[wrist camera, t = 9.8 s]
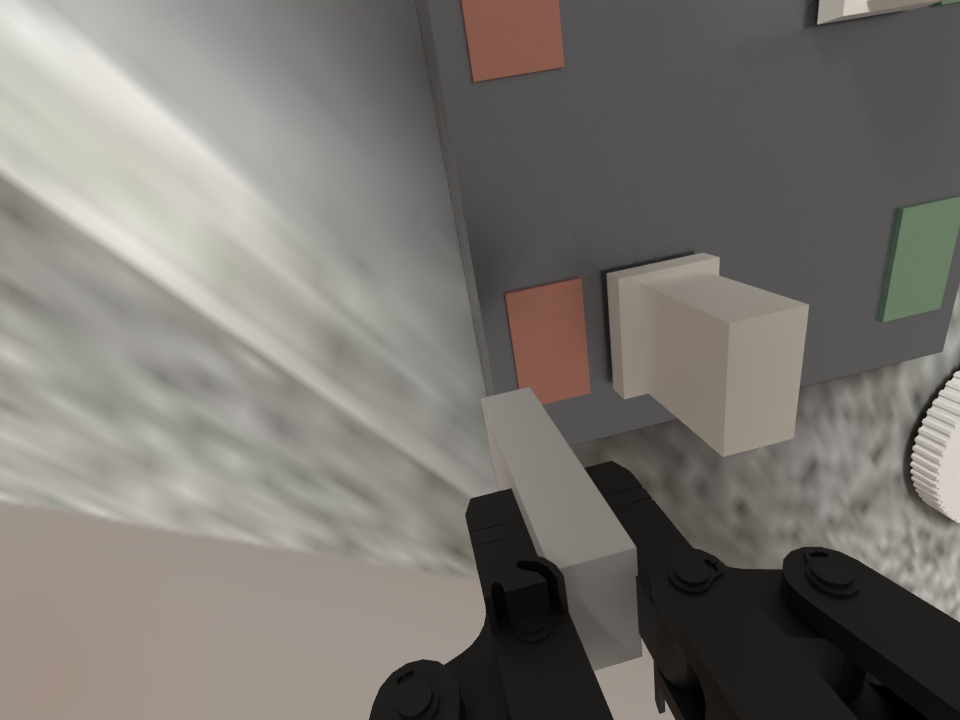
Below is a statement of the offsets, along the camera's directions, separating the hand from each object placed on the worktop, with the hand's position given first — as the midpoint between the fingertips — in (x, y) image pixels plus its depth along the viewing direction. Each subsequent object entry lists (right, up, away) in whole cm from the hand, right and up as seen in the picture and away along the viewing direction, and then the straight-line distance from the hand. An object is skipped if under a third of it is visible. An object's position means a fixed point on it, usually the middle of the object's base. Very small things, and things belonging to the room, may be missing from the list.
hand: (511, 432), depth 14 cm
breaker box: (+8, +11, +6) cm, 15 cm away
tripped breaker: (+6, +4, +5) cm, 9 cm away
